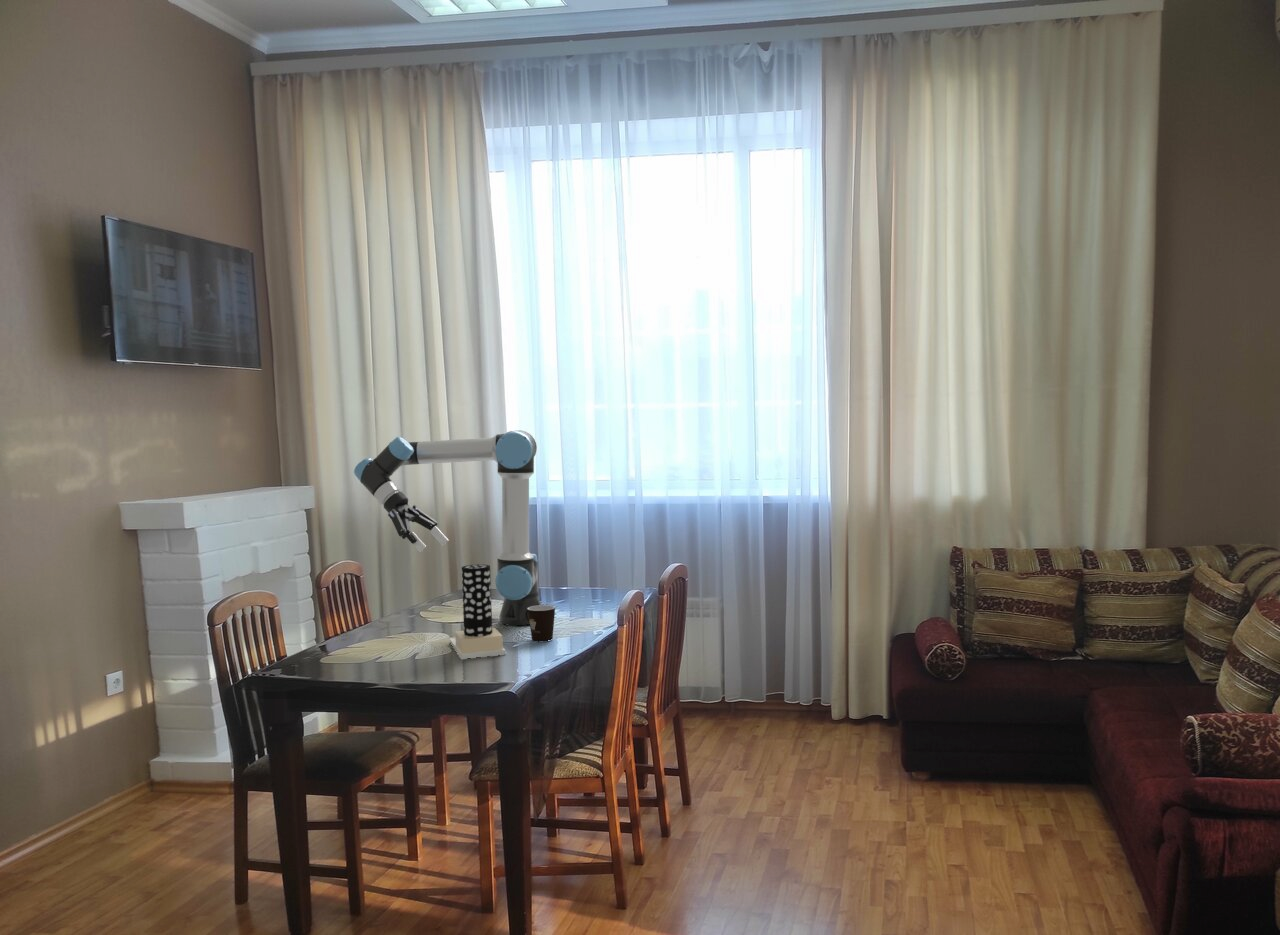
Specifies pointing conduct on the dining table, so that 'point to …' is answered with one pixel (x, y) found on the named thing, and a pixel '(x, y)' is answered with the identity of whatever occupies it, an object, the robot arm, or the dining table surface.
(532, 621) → the coffee mug
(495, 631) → the stand
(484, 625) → the spotted tube
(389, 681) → the dining table surface
